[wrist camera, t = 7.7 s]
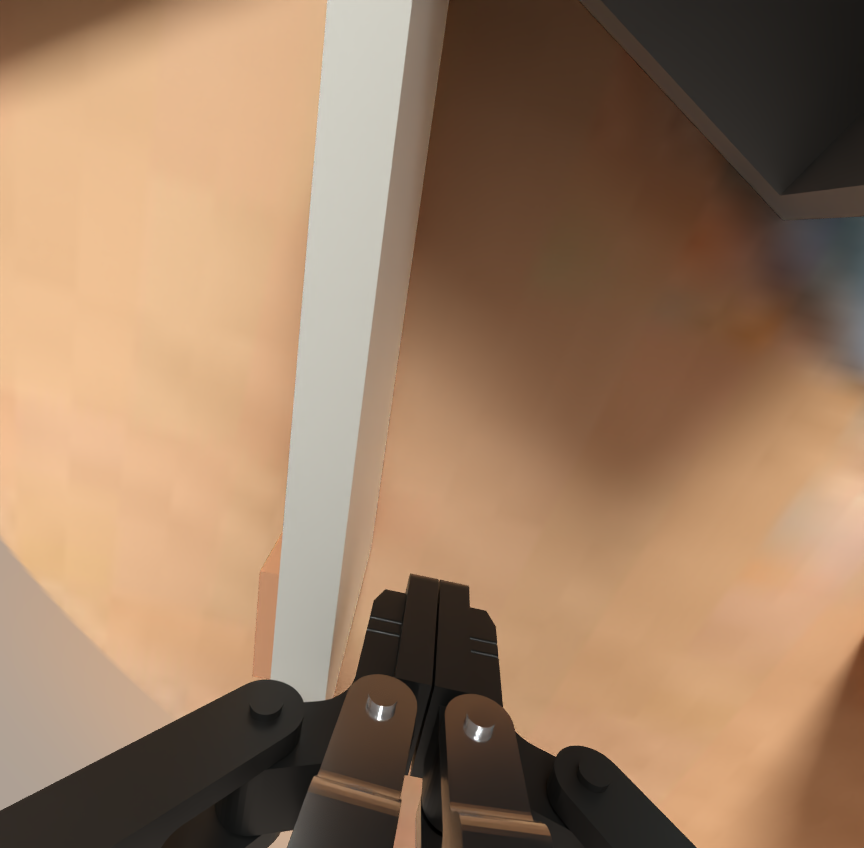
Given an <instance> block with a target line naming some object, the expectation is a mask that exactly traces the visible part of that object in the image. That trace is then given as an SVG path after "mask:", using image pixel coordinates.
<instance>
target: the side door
mask: <svg viewBox="0 0 864 848" xmlns="http://www.w3.org/2000/svg"><path fill="white" fill-rule="evenodd" d="M448 6H449V0H327V12H326V24H325V36H324V48H323V60H322V72H321V83H320V95H319V107H318V119H317V131H316V143H315V155H314V167H313V179H312V190H311V202H310V214H309V226H308V238H307V250H306V262H305V274H304V285H303V297H302V309H301V321H300V333H299V345H298V357H297V369H296V381H295V392H294V404H293V416H292V428H291V440H290V452H289V464H288V476H287V487H286V499H285V511H284V523H283V532H282V534H281V535H280V537H279V539H278V541H277V542H276V544H275V546H274V548H273V549H272V551H271V553H270V555H269V556H268V558H267V560H266V562H265V564H264V565H263V567H262V569H261V571H260V577H259V591H258V605H257V619H256V633H255V647H254V661H253V675H252V676H253V677H260V678H267V679H270V680H277V681H281V682H284V683H286V684H288V685H290V686H292V687H293V688H294V689H296V690H297V691H298V693H299V694H300V695H301V697H302V699H303V702H312V701H323V700H328V699H332V698H333V696H334V692H335V689H336V685H337V681H338V677H339V673H340V669H341V665H342V661H343V657H344V653H345V649H346V645H347V641H348V637H349V633H350V630H351V626H352V622H353V618H354V614H355V610H356V606H357V602H358V598H359V594H360V590H361V586H362V582H363V578H364V574H365V571H366V567H367V563H368V559H369V555H370V551H371V547H372V540H373V533H374V526H375V519H376V512H377V505H378V498H379V491H380V484H381V477H382V470H383V463H384V456H385V449H386V442H387V435H388V428H389V421H390V413H391V406H392V399H393V392H394V385H395V378H396V371H397V364H398V357H399V350H400V343H401V336H402V329H403V322H404V315H405V308H406V301H407V294H408V287H409V280H410V273H411V266H412V259H413V252H414V245H415V238H416V231H417V224H418V217H419V210H420V203H421V195H422V188H423V181H424V174H425V167H426V160H427V153H428V146H429V139H430V132H431V125H432V118H433V111H434V104H435V97H436V90H437V83H438V76H439V69H440V62H441V55H442V48H443V41H444V34H445V27H446V20H447V13H448Z"/></svg>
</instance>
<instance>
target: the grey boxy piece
mask: <svg viewBox="0 0 864 848" xmlns="http://www.w3.org/2000/svg"><path fill="white" fill-rule="evenodd" d="M579 1H580V2H581V3H582V4H583V5H584V6H585V8H586V9H587V10H588V11H589V12H590V13H591V14H592V15H593V16H594V17H595V18H596V19H597V20H598V22H599V23H600V24H601V25H602V26H603V27H604V28H605V29H606V30H607V31H608V32H609V33H610V35H611V36H612V37H613V38H614V39H615V40H616V41H617V42H618V43H619V44H620V45H621V46H622V47H623V49H624V50H625V51H626V52H627V53H628V54H629V55H630V56H631V57H632V58H633V59H634V60H635V61H636V63H637V64H638V65H639V66H640V67H641V68H642V69H643V70H644V71H645V72H646V73H647V74H648V75H649V77H650V78H651V79H652V80H653V81H654V82H655V83H656V84H657V85H658V86H659V87H660V88H661V89H662V91H663V92H664V93H665V94H666V95H667V96H668V97H669V98H670V99H671V100H672V101H673V102H674V104H675V105H676V106H677V107H678V108H679V109H680V110H681V111H682V112H683V113H684V114H685V115H686V116H687V118H688V119H689V120H690V121H691V122H692V123H693V124H694V125H695V126H696V127H697V128H698V129H699V130H700V132H701V133H702V134H703V135H704V136H705V137H706V138H707V139H708V140H709V141H710V142H711V143H712V144H713V146H714V147H715V148H716V149H717V150H718V151H719V152H720V153H721V154H722V155H723V156H724V157H725V158H726V160H727V161H728V162H729V163H730V164H731V165H732V166H733V167H734V168H735V169H736V170H737V171H738V173H739V174H740V175H741V176H742V177H743V178H744V179H745V180H746V181H747V182H748V183H749V184H750V185H751V187H752V188H753V189H754V190H755V191H756V192H757V193H758V194H759V195H760V196H761V197H762V198H763V199H764V201H765V202H766V203H767V204H768V205H769V206H770V207H771V208H772V209H773V210H774V211H775V212H776V213H777V215H778V216H779V217H780V218H781V219H782V220H801V219H821V218H841V217H861V216H864V0H579Z"/></svg>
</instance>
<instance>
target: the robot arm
mask: <svg viewBox="0 0 864 848" xmlns="http://www.w3.org/2000/svg"><path fill="white" fill-rule="evenodd" d="M411 761H412V764H411ZM410 765H411V775H410V776H414V777H419V778H423V782H422V795H421V798H420V802H419V805H418V809H417V812H416V848H696V847H695V846H694V845H693V843H692V842H691V841H690V840H689V839H688V838H687V837H686V836H685V835H684V834H683V833H682V832H681V831H680V830H679V829H678V828H677V827H676V826H675V825H674V824H673V823H672V822H671V821H670V820H669V819H668V818H667V817H666V816H665V815H664V814H663V813H662V812H661V811H660V810H659V809H658V808H657V807H656V806H655V805H654V804H653V803H652V802H651V801H650V800H649V799H648V798H647V797H646V796H645V795H644V794H643V792H642V791H641V790H640V789H639V788H638V787H637V786H636V785H635V784H634V783H633V782H632V781H631V780H630V779H629V778H628V777H627V776H626V775H625V774H624V773H623V772H622V771H621V770H620V769H619V768H618V767H617V766H616V765H615V764H614V763H613V762H612V761H611V760H610V759H608V758H607V757H606V756H604V755H603V754H601V753H599V752H598V751H595V750H593V749H591V748H588V747H584V746H569V747H566V748H564V749H562V750H561V751H560V752H559V753H558V754H557V756H556V757H555V756H553V755H551V754H549V753H547V752H545V751H543V750H541V749H539V748H537V747H535V746H533V745H532V744H530V743H528V742H527V741H526V740H524V739H523V738H522V737H521V736H519V735H518V734H517V733H516V732H515V729H514V725H513V722H512V720H511V718H510V716H509V714H508V713H507V712H506V711H505V710H504V708H503V702H502V691H501V680H500V669H499V659H498V647H497V636H496V626H495V625H494V623H493V621H492V620H491V618H490V616H489V615H488V613H487V612H486V611H484V610H480V609H475V608H470V603H469V586H467V585H462V584H458V583H453V582H448V581H444V580H440V581H439V580H438V579H434V578H429V577H425V576H420V575H415V574H411V573H410V576H409V580H408V584H407V589H406V593H400V592H395V591H391V590H386V589H385V590H384V591H383V592H382V593H381V594H380V595H379V596H378V597H377V598H376V599H375V600H374V603H373V607H372V611H371V615H370V619H369V623H368V627H367V631H366V635H365V640H364V644H363V648H362V652H361V656H360V660H359V664H358V668H357V672H356V676H355V679H354V681H353V683H352V685H351V686H350V687H349V688H348V689H347V690H346V691H345V692H344V693H342V694H340V695H339V696H337V697H334V698H332V699H328V700H323V701H312V702H303V699H302V697H301V695H300V694H299V693H298V691H297V690H296V689H294V688H293V687H292V686H290V685H288V684H286V683H284V682H281V681H277V680H258V681H254V682H250V683H248V684H246V685H244V686H242V687H240V688H238V689H236V690H234V691H232V692H230V693H228V694H226V695H224V696H222V697H220V698H218V699H216V700H215V701H213V702H211V703H209V704H207V705H205V706H203V707H201V708H199V709H197V710H195V711H193V712H191V713H189V714H187V715H185V716H183V717H182V718H180V719H178V720H176V721H174V722H172V723H170V724H168V725H166V726H164V727H162V728H160V729H158V730H156V731H154V732H152V733H151V734H149V735H147V736H145V737H143V738H141V739H139V740H137V741H135V742H133V743H131V744H129V745H127V746H125V747H124V748H121V749H119V750H117V751H115V752H114V753H112V754H110V755H108V756H106V757H104V758H102V759H100V760H98V761H96V762H94V763H92V764H90V765H88V766H86V767H85V768H82V769H81V770H79V771H77V772H75V773H73V774H71V775H69V776H67V777H65V778H63V779H61V780H59V781H57V782H55V783H53V784H51V785H50V786H48V787H46V788H44V789H42V790H40V791H38V792H36V793H34V794H32V795H30V796H28V797H26V798H24V799H22V800H20V801H19V802H16V803H14V804H13V805H11V806H9V807H7V808H5V809H3V810H1V811H0V848H267V847H269V846H270V845H271V844H272V843H273V842H274V841H275V840H276V838H277V837H278V836H279V834H280V832H283V831H290V830H293V832H292V835H291V838H290V841H289V843H288V846H287V848H393V845H394V839H395V834H396V829H397V823H398V818H399V813H400V807H401V799H400V796H401V791H402V786H403V781H404V775H408V772H409V769H410Z"/></svg>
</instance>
